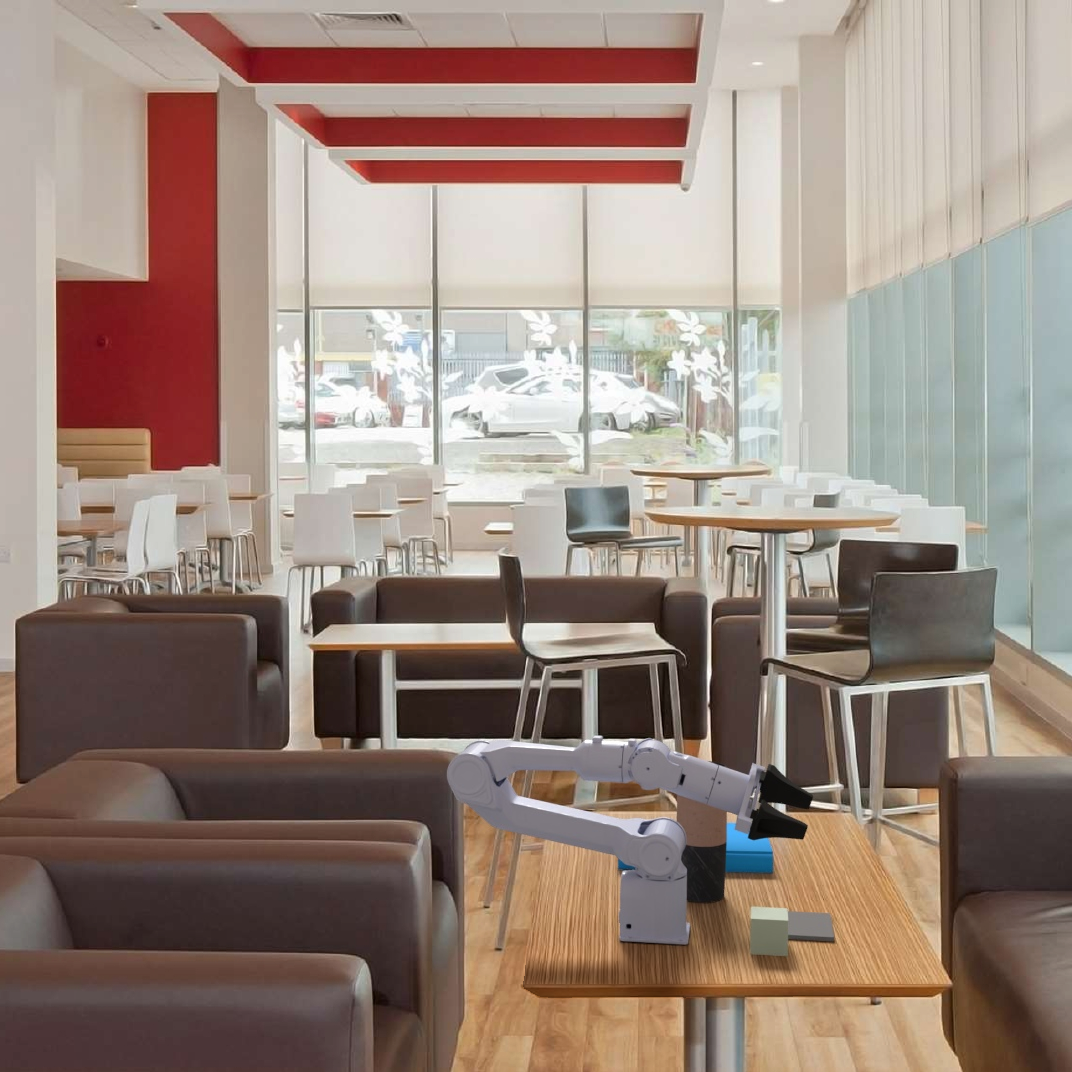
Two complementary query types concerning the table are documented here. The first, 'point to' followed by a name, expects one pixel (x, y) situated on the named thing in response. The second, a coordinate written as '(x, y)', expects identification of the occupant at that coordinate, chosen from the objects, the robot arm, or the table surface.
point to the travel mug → (703, 848)
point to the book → (741, 853)
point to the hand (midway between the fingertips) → (808, 817)
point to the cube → (769, 931)
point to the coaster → (810, 926)
